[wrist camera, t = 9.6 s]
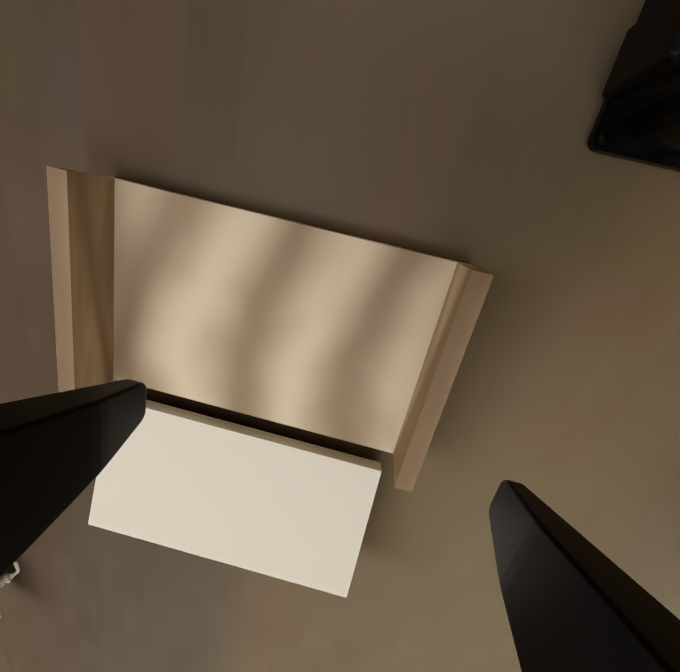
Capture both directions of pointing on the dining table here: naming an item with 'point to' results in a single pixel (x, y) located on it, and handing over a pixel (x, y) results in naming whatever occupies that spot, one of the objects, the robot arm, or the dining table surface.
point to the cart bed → (257, 313)
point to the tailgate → (239, 497)
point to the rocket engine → (9, 576)
